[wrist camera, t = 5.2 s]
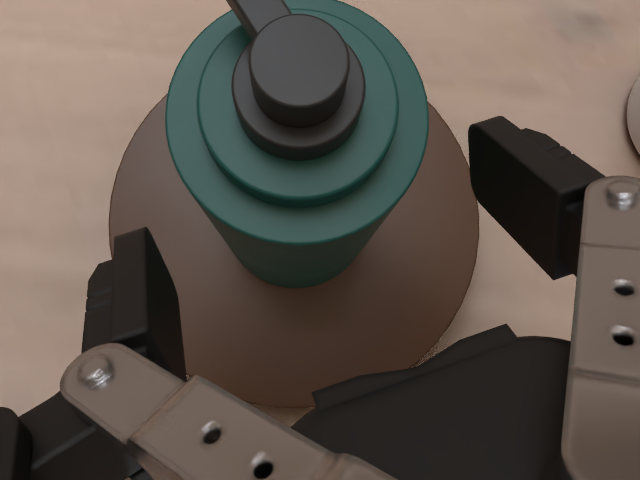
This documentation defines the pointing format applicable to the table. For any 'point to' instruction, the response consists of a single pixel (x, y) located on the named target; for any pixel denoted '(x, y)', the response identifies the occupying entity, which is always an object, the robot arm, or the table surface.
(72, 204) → the table surface
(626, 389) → the robot arm
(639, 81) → the bath foam
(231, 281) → the soap bottle
